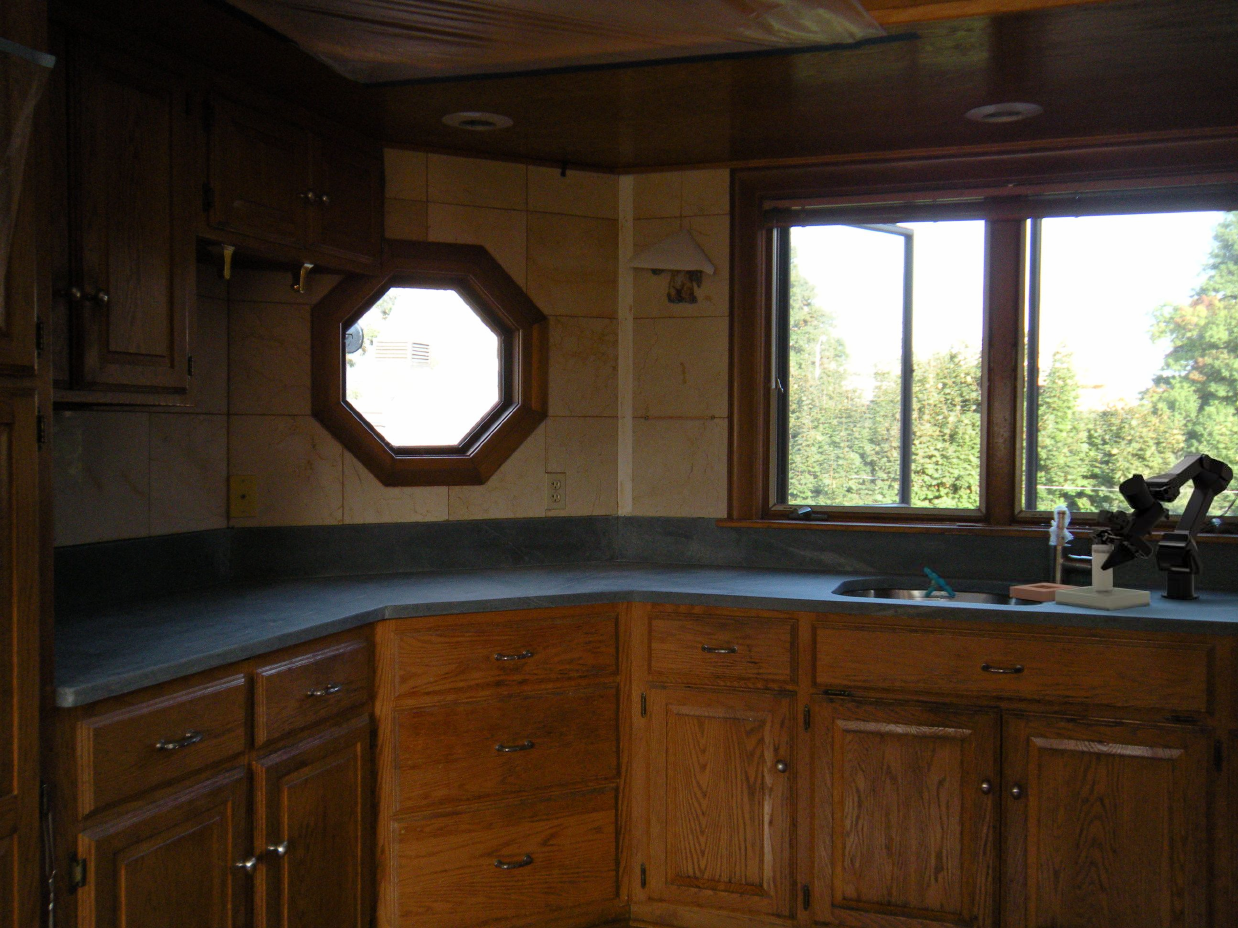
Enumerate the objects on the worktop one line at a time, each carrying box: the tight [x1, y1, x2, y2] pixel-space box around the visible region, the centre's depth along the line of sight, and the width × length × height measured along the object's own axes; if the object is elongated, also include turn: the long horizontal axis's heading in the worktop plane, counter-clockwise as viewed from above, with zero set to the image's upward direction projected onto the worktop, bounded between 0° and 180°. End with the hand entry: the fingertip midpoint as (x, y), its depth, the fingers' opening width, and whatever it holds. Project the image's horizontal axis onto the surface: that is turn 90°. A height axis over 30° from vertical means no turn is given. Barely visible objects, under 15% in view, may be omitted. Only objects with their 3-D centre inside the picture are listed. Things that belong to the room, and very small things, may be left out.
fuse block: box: [1009, 582, 1081, 603], centre depth 260 cm, size 14×10×2 cm
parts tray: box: [1054, 585, 1151, 611], centre depth 247 cm, size 16×14×3 cm
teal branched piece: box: [923, 566, 956, 598], centre depth 262 cm, size 11×6×10 cm
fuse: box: [1091, 544, 1114, 597], centre depth 247 cm, size 4×4×12 cm
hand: (1096, 568), depth 247 cm, fingers closed on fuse, 4 cm apart
